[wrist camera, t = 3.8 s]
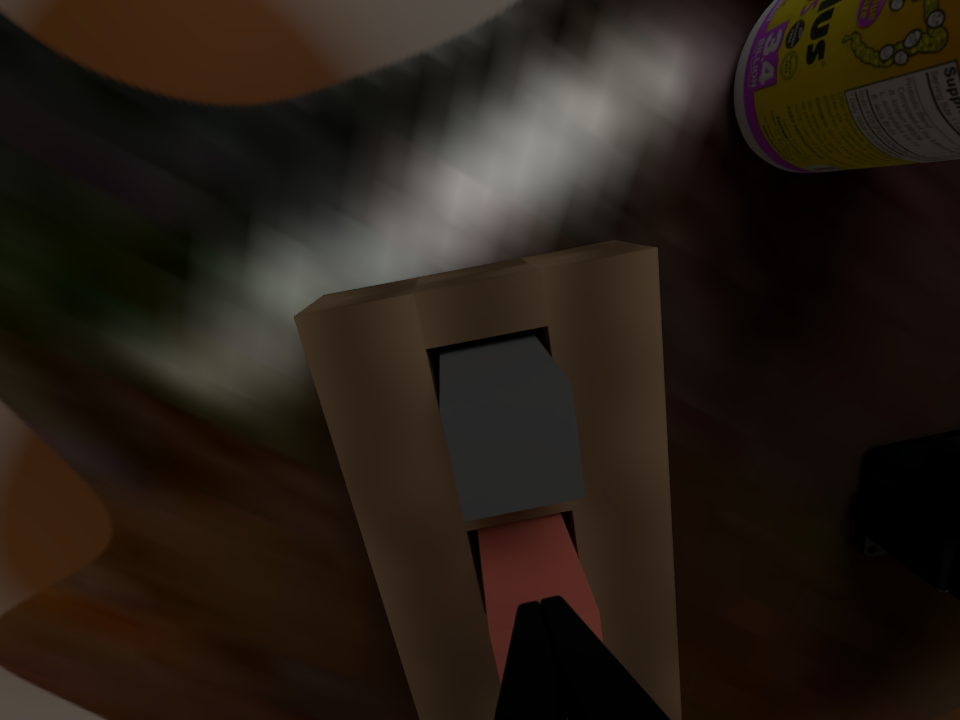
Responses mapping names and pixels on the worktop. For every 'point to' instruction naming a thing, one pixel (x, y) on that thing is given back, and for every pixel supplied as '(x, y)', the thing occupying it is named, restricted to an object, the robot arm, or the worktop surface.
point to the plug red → (530, 575)
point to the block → (429, 475)
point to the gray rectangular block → (509, 427)
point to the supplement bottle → (851, 84)
